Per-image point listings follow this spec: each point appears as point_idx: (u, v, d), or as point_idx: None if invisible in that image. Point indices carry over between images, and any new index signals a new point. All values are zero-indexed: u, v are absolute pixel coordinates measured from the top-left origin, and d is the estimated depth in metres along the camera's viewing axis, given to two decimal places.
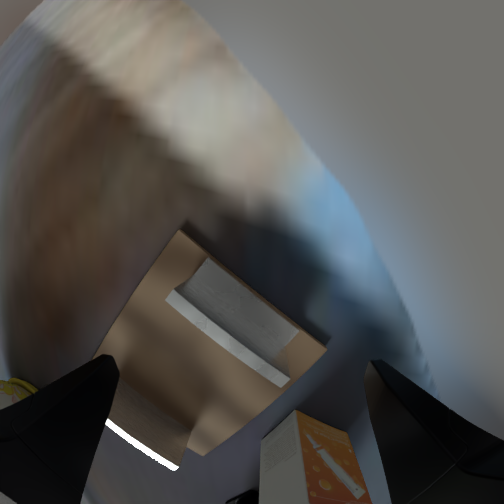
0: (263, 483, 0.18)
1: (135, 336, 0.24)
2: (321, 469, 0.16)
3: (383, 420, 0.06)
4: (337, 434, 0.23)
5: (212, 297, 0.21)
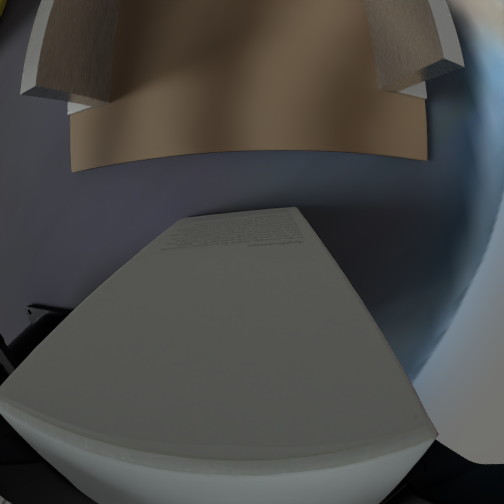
0: (136, 266, 0.07)
1: None
2: None
3: None
4: None
5: None
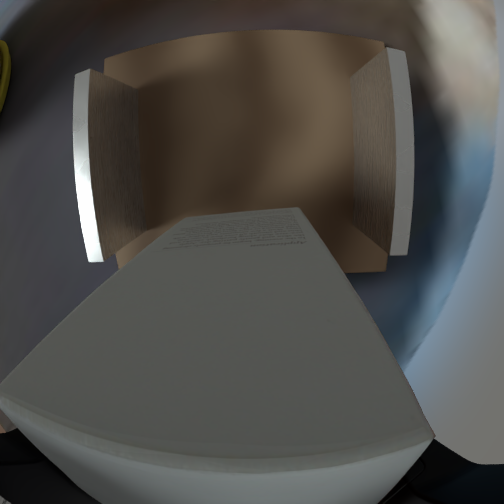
0: (138, 265, 0.07)
1: (224, 63, 0.14)
2: None
3: None
4: None
5: None
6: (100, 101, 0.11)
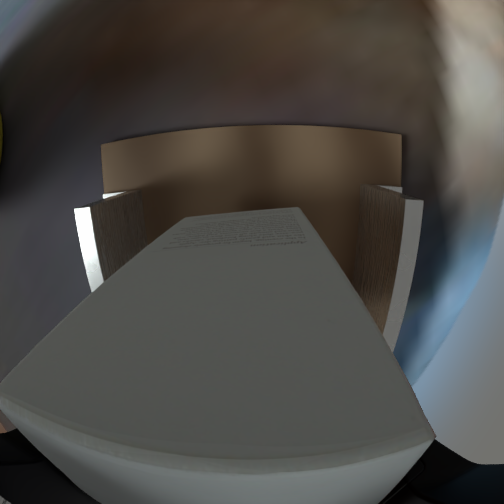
0: (138, 265, 0.07)
1: (230, 167, 0.16)
2: None
3: None
4: None
5: None
6: (107, 235, 0.12)
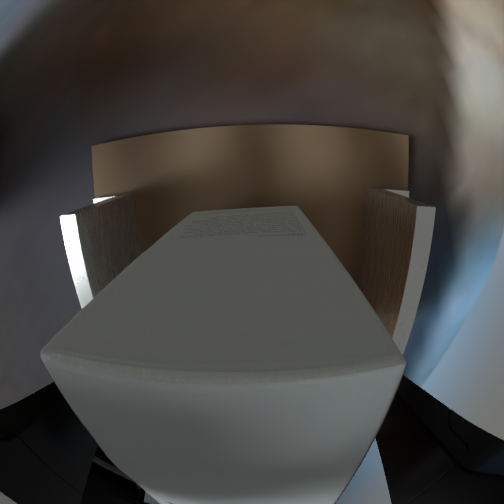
0: (161, 250, 0.09)
1: (227, 170, 0.15)
2: None
3: None
4: None
5: None
6: (95, 243, 0.11)
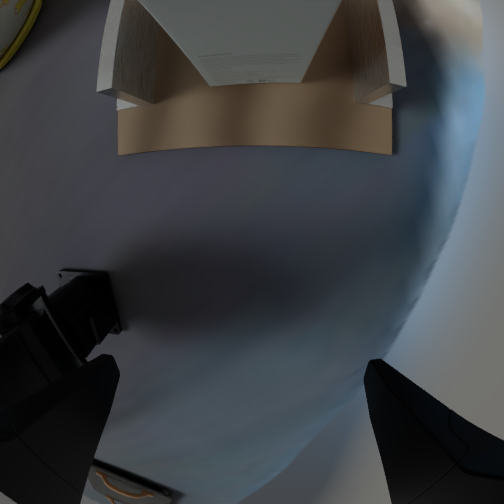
0: None
1: None
2: None
3: (383, 420, 0.06)
4: None
5: None
6: None
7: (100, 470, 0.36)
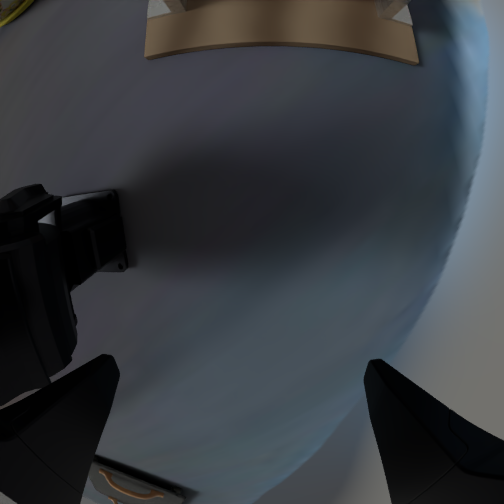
0: None
1: None
2: None
3: (383, 420, 0.06)
4: None
5: None
6: None
7: (103, 468, 0.33)
